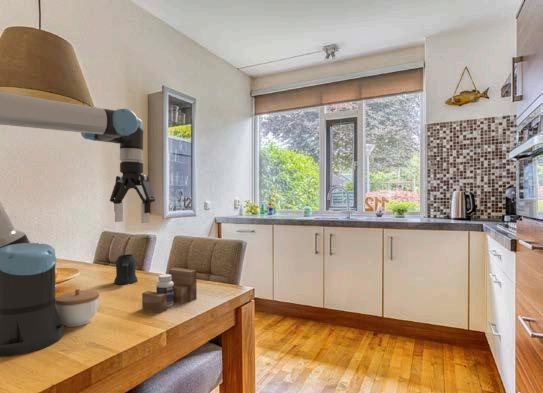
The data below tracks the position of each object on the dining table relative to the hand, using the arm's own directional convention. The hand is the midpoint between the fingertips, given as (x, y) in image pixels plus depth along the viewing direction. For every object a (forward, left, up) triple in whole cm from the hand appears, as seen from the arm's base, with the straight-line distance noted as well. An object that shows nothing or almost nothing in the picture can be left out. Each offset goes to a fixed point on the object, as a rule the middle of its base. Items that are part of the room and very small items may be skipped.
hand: (131, 222), depth 111 cm
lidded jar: (-22, -5, -27) cm, 35 cm away
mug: (+13, +20, -27) cm, 36 cm away
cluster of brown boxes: (+2, -16, -27) cm, 31 cm away
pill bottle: (0, -16, -27) cm, 31 cm away
